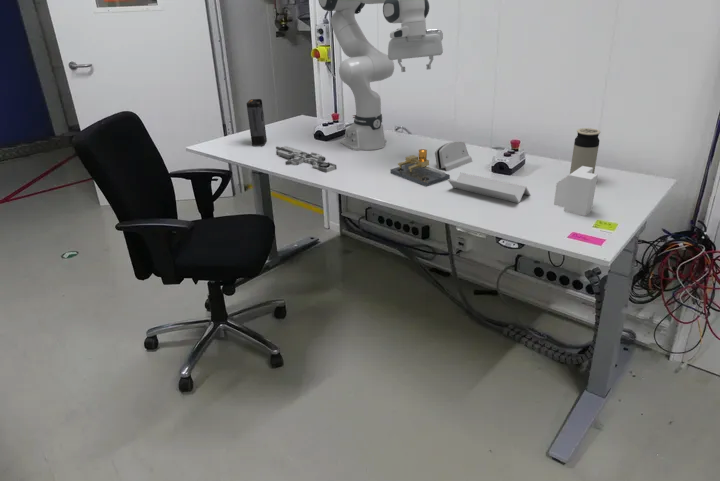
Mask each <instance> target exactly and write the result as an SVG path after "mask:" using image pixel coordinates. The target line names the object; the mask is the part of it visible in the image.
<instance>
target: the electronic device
mask: <svg viewBox="0 0 720 481" xmlns="http://www.w3.org/2000/svg"><path fill="white" fill-rule="evenodd" d="M263 107H264V106H263V99H261V98H253V99H249V100H248V101H247V102H246V110H247V118H248V126H249V133H250V139H251V146H252V147H263V146H265V144H266V143H267V139H268V138H267V133H266V131H267V130H266V124H265V123H266V122H265V115H264V108H263Z"/></svg>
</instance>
